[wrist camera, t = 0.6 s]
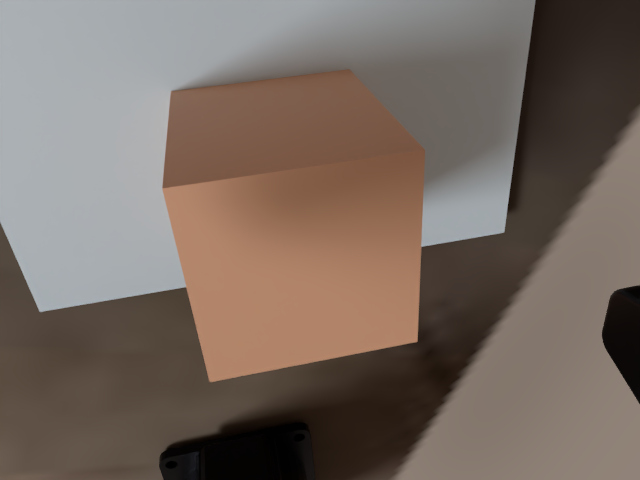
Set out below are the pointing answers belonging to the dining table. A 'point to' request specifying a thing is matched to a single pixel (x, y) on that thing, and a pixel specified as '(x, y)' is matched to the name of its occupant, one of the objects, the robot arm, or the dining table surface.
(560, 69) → the dining table surface
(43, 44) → the blueprint board
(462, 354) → the dining table surface
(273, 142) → the terracotta block
